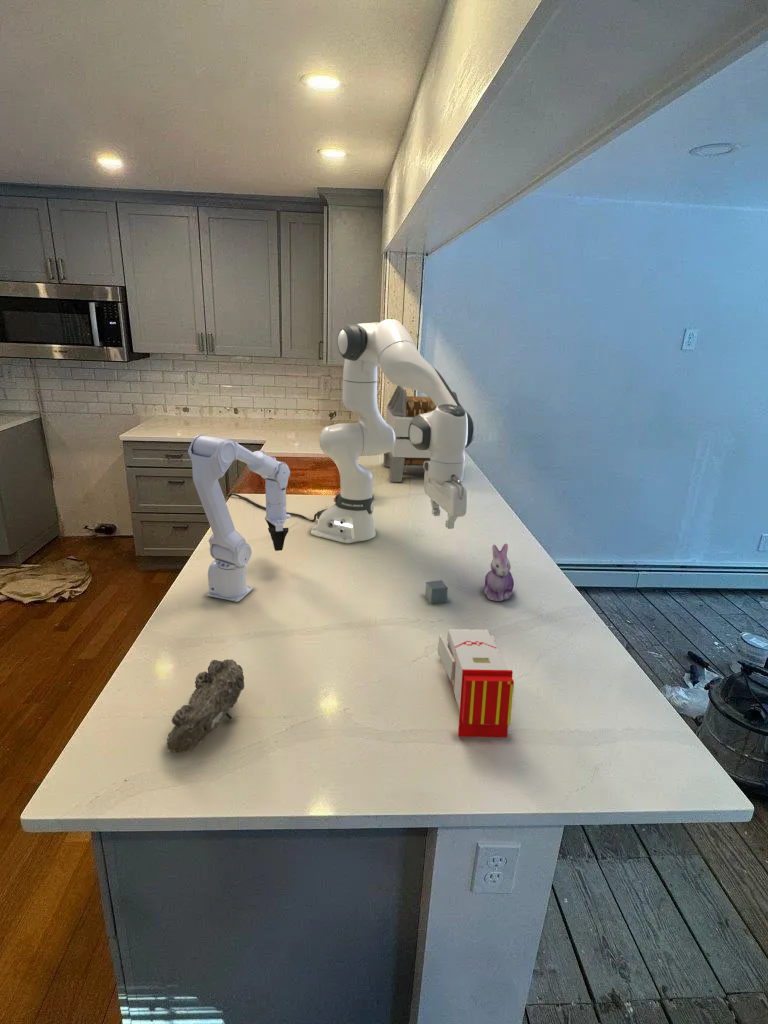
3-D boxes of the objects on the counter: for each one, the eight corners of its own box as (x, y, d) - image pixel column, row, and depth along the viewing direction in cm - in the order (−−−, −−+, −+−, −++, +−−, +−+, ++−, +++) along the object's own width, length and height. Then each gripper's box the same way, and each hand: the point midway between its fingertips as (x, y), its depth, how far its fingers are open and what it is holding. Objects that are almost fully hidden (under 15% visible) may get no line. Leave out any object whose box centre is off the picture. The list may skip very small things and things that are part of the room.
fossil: (192, 660, 117) (244, 628, 112) (224, 691, 120) (276, 661, 115) (142, 746, 98) (202, 712, 93) (182, 779, 101) (242, 748, 96)
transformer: (382, 463, 289) (386, 382, 275) (445, 464, 293) (451, 384, 279) (390, 482, 257) (394, 392, 243) (460, 483, 261) (468, 394, 247)
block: (446, 601, 155) (448, 587, 153) (430, 603, 153) (432, 589, 152) (440, 594, 159) (441, 580, 157) (425, 596, 157) (426, 581, 156)
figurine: (496, 605, 154) (502, 555, 148) (473, 589, 162) (479, 540, 157) (523, 599, 158) (530, 549, 153) (500, 583, 166) (506, 536, 161)
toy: (488, 613, 130) (523, 677, 101) (484, 667, 133) (517, 744, 104) (435, 612, 130) (455, 676, 101) (432, 666, 133) (451, 743, 103)
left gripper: (293, 509, 157) (294, 553, 162) (286, 493, 170) (287, 534, 175) (267, 510, 155) (269, 555, 160) (262, 494, 168) (264, 536, 173)
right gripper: (475, 481, 135) (470, 535, 140) (443, 459, 154) (439, 508, 158) (451, 482, 133) (446, 537, 138) (421, 460, 152) (418, 509, 156)
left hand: (277, 545), depth 167 cm, fingers open, 7 cm apart
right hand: (442, 521), depth 148 cm, fingers open, 8 cm apart
